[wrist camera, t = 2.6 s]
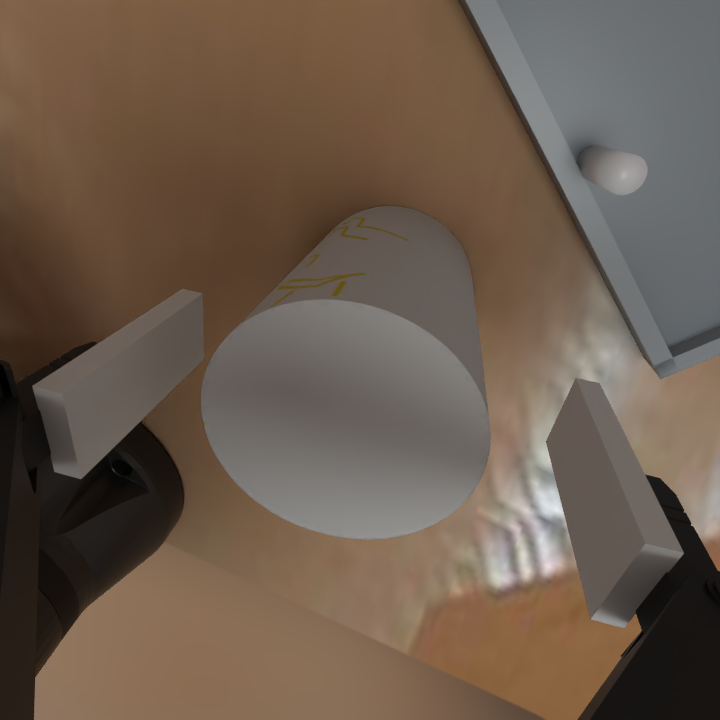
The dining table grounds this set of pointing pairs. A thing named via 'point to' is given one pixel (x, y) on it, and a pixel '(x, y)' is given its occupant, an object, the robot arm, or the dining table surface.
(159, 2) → the dining table surface
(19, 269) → the dining table surface
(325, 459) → the cup
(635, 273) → the tray
